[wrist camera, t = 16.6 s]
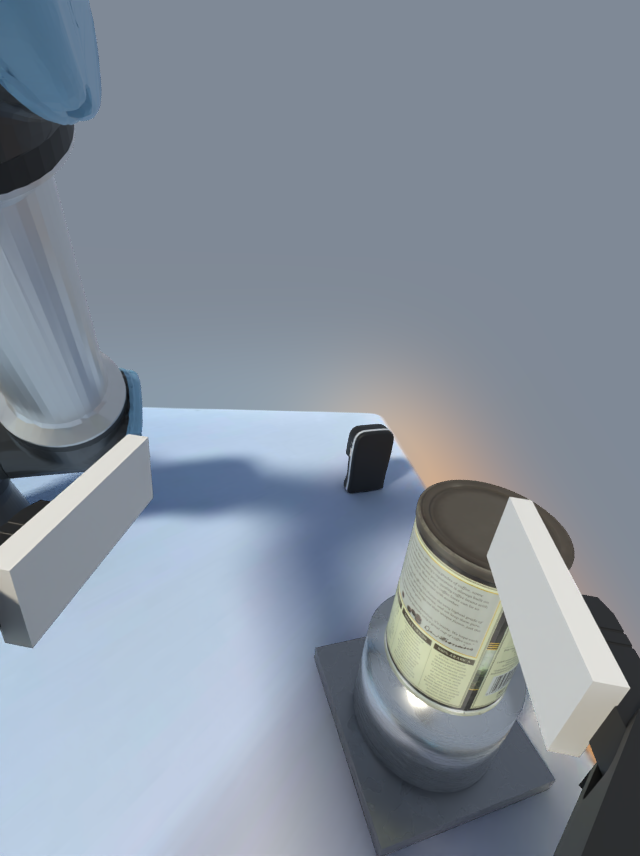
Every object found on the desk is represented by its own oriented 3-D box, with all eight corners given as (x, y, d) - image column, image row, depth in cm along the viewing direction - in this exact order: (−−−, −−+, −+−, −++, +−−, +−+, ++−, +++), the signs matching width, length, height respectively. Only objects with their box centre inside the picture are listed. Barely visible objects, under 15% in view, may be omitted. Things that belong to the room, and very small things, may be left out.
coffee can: (407, 584, 42) (441, 463, 36) (516, 639, 38) (578, 513, 31) (361, 667, 34) (395, 529, 27) (494, 749, 30) (571, 609, 23)
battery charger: (374, 477, 76) (385, 419, 71) (384, 489, 73) (397, 430, 68) (338, 481, 73) (347, 422, 68) (347, 495, 70) (357, 434, 65)
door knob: (314, 657, 44) (324, 592, 40) (445, 627, 50) (467, 567, 45) (378, 858, 31) (404, 794, 27) (548, 789, 36) (594, 725, 32)
